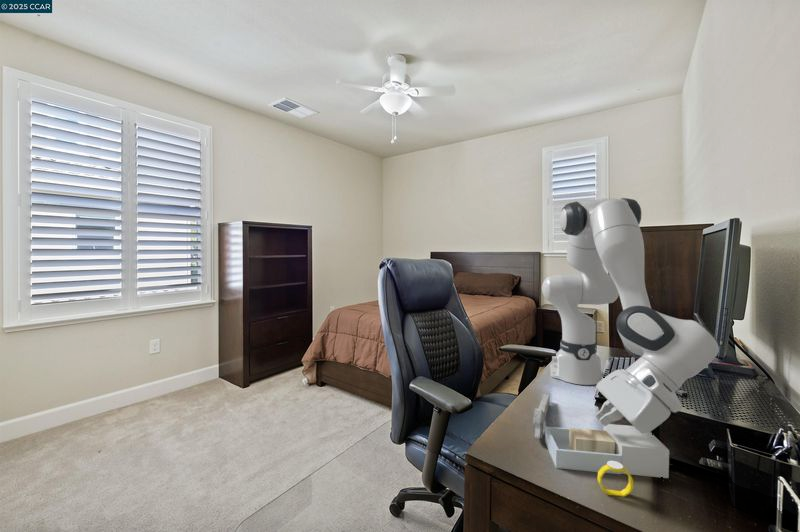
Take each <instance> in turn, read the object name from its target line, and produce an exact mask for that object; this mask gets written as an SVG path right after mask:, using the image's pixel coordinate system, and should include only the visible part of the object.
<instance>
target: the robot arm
mask: <svg viewBox="0 0 800 532" xmlns="http://www.w3.org/2000/svg"><path fill="white" fill-rule="evenodd" d="M641 219H642V208H641V205H640V204H639V202H638V201H637V200H636V199H634V198H628V197H621V198H598V199H592V200H584V201H583V200H582V201H573V202H572V201H571V202H568V203H566V204H565V205H564V206H563V207H562V209H561V213H560V215H559V224H560V226H561V230H562V232H563V233H565V234H566V235H568V240H567V249H566V261H567V264H568V265H569V266H570V267H571V268H572V269H574V270H576V271H579V272H581V273H579V274H573V273H571V274H570V273H569V274H564V273H561V274H560V273H559V274H554V275H550V276H547V277H545V279H544V280H543V282H542V285H541V292H542V295H543V297H544V299H545V300H546V301H548V302H549V303H550V304H551V305H552V306H553V307H554V308H555V309H556V311H557V312H558V314H559V317H560V320H561V333H562V335H561V337H562V338H561V339H560V343H559V344H560V346H559V350H558V351H557V353H555V355H552V356H551V362H552V363H550V364H549V369H550V371H549V373H550V377H551V378H552V379H553V378H554V379H557V380H561V381H563V382H565V383H566V382H567V383H571V384H575V385H584V386H594V385H595V388H596V390H598V391H599V393H600V394H601V395H602V396H604V397H605V399H606V401H604V402H603V404H602V406H601V408H600V410H598V411H597V412H596V413H595V417H596V418H597V419H598V421H599V422H600V423H601V424H602V425H604V426H607V425H608V424H612V423H613V422H616V421H617V422H618V421H620V420H622V419H623V418H625V419H626V420H627V421H628V422H629V423H630V425H631V426H634V427H635V428H636V429H637V430H638V431H639V432H640V433H647V432H652V431H653V430H655V429H656V428H657V427H659V426H660V425H662V424H663V423H664V422H665V421H666V420H667V419H668V418H669V417H670V415H671V414H672V413H678V412H679V411H680V410H681V409H682V408H683V405H682V403H681V401H680V400H679V398H678V395H677V394H676V391H678V390H680V388H681V387H682V385H683V384H684V383H685V382H686V381H687V380H688V379H691V378H693V377H695V376H697V375H698V374H700V372H702V371H703V370H704V369H706V367H707V366H709V364H711V362H713V360H714V359H715V358H716V357H717V355H718V354H719V351H720V350H719V349H720V345H719V342H718V340H717V338H715V336H714V335H713V334H712V332H711V331H710V330H709V329H708V328H706V326H704V325H703V324H701V323H699V322H698V321H696V320H693V319H681V318H677V317H673V316H670V315H667V314H664V313H661V312H659V311H657V310H655V309H653V308H652V306H651V303H650V300H649V299H650V298H649V295H648V292H647V288H646V281H645V244H644V238H643V232H642V230H641V227H640V224H641ZM618 298H619V299H620V303H621V307H622V311H621V312H620V313H619V314H618V315H617V318H616V322H615V325H616V330H617V332H618V335H619V337H620V339H621V341H622V345H623V347H624V350H625V351H626V352H627V354H628V355H630V356H631V357H632V358H635V361H634V362H633V363H632V364H630V365H629V366H628V367H627V368H621V369H616V370H613V371H612V372H610V373H609V374H608V375H606V376H604V377H605V378H603V379H602V376H603V375H602V361H601V360H602V359H601V357H600V356H599V355H598V354H597V353H598V351H597V349H598V346H597V342H596V334H597V333H596V328H597V327H596V321H595V320H594V318H592V317H591V316H590V315H588V314H586V313H584V312H582V311H580V310H579V307H578V305H599V306H601V305H606V304H612V303H614V302H615V301H617V299H618ZM601 379H602V380H601ZM671 412H672V413H671Z"/></svg>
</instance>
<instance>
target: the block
mask: <svg viewBox="0 0 800 532" xmlns="http://www.w3.org/2000/svg"><path fill="white" fill-rule="evenodd" d="M568 428H569V449H570V450H577V451H588V452H599V453H610V454H615V441H614V440H613V439H612V438H611V436H610V435H609V434H608V433H607V431H603V429H602V430H600V429H590V428H589V429H588V428H578V427H577V428H576V427H568Z"/></svg>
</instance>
